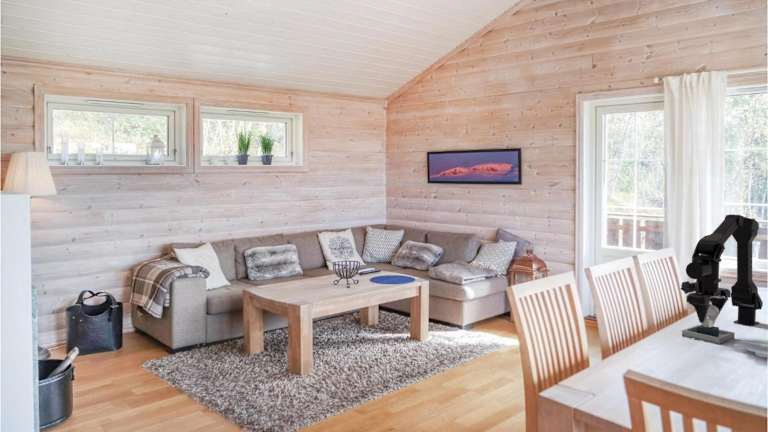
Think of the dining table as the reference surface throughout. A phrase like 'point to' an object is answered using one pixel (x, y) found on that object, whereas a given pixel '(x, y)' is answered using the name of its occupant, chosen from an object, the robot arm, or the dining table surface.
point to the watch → (709, 322)
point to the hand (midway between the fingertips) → (708, 320)
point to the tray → (722, 337)
